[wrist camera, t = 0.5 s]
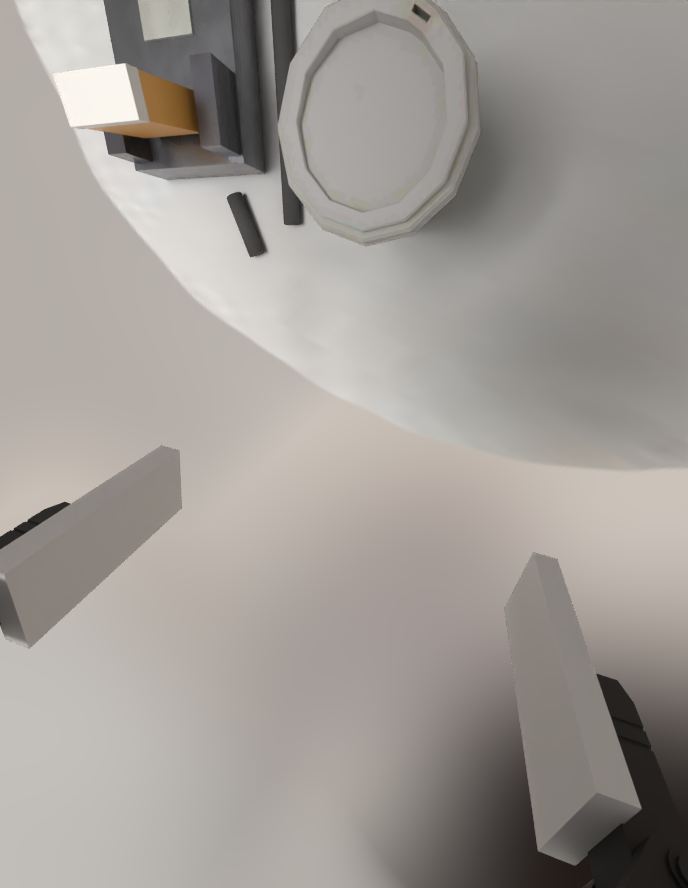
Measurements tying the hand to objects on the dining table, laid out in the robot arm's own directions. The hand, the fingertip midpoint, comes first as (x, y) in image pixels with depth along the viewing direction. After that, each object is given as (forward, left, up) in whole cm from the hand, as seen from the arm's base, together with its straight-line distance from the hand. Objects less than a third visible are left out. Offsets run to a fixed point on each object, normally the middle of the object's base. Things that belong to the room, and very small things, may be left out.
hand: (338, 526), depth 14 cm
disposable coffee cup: (-15, -2, -27) cm, 31 cm away
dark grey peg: (-12, -16, -27) cm, 33 cm away
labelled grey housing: (-23, -19, -27) cm, 40 cm away
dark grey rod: (-21, -11, -27) cm, 36 cm away
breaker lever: (-19, -19, -22) cm, 34 cm away
